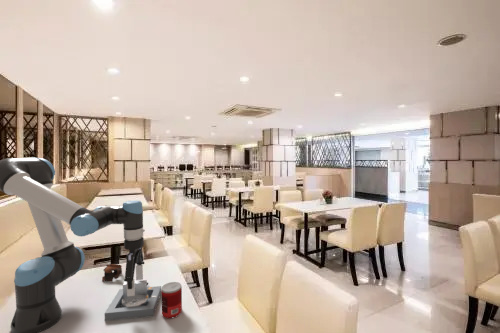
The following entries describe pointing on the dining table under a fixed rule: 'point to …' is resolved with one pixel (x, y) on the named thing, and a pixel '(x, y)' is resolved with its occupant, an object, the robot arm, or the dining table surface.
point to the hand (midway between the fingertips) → (135, 287)
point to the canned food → (171, 299)
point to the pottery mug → (109, 274)
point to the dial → (136, 295)
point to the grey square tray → (133, 312)
